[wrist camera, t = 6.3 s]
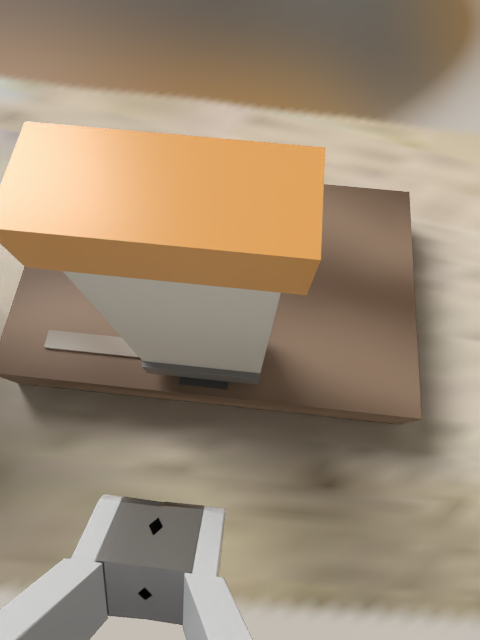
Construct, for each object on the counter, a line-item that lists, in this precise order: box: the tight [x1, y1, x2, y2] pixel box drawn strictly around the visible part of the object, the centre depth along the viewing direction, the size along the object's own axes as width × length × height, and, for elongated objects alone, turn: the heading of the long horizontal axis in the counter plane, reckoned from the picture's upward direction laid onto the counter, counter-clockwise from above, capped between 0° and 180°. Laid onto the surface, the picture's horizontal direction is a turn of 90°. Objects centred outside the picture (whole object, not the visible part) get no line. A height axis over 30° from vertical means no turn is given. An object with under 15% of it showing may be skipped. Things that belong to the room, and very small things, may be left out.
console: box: [0, 184, 422, 424], centre depth 17 cm, size 10×16×2 cm, turn 84°
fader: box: [0, 121, 325, 385], centre depth 10 cm, size 2×5×9 cm, turn 84°
